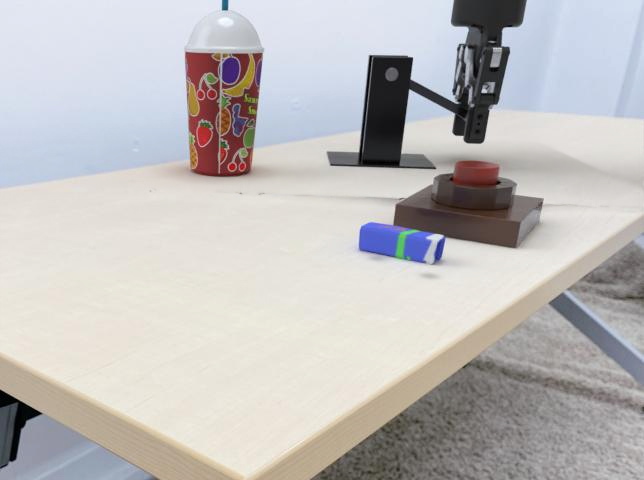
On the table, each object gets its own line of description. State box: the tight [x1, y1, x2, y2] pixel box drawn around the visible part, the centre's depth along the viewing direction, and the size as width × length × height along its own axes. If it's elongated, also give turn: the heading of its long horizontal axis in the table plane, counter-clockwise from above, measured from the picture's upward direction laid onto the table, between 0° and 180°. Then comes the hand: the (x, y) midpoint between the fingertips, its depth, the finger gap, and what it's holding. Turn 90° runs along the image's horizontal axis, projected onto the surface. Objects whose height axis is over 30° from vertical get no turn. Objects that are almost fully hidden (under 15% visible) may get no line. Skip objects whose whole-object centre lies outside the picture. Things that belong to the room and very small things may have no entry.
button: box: [453, 160, 501, 186], centre depth 60 cm, size 4×4×2 cm
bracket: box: [326, 54, 437, 170], centre depth 84 cm, size 12×9×13 cm
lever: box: [409, 79, 469, 122], centre depth 82 cm, size 13×6×2 cm, turn 83°
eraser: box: [358, 221, 446, 265], centre depth 54 cm, size 2×6×2 cm, turn 52°
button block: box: [392, 172, 544, 249], centre depth 61 cm, size 10×10×4 cm
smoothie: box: [183, 0, 265, 177], centre depth 75 cm, size 8×8×20 cm
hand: (467, 138), depth 84 cm, fingers closed on lever, 5 cm apart
